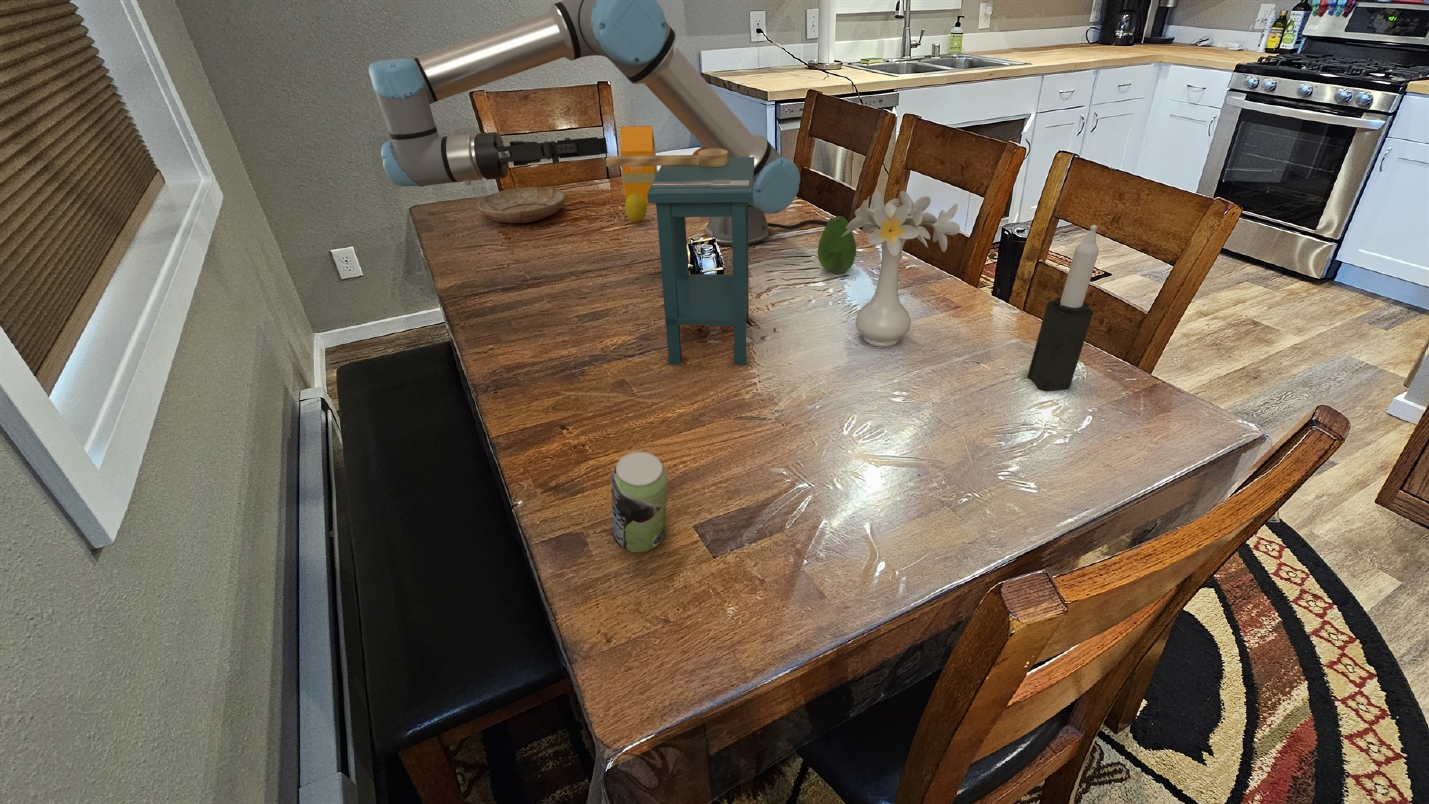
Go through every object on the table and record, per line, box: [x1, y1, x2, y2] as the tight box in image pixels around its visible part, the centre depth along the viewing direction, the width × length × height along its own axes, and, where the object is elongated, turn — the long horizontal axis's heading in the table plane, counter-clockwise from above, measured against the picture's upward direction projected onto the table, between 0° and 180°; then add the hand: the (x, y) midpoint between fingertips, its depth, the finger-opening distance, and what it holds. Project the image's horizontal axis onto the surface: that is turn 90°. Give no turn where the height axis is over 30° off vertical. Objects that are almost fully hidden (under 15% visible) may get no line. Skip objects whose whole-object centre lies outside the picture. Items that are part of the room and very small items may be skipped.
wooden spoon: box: [605, 148, 728, 167], centre depth 107 cm, size 20×5×2 cm, turn 86°
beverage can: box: [610, 451, 668, 553], centre depth 74 cm, size 6×7×12 cm
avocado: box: [817, 215, 857, 274], centre depth 138 cm, size 8×8×12 cm
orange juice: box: [619, 125, 658, 205], centre depth 183 cm, size 8×9×20 cm
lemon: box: [624, 193, 647, 225], centre depth 169 cm, size 6×6×8 cm
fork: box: [653, 180, 749, 189], centre depth 96 cm, size 14×2×1 cm, turn 86°
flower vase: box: [841, 190, 961, 348], centre depth 109 cm, size 13×18×25 cm
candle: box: [1027, 224, 1100, 392], centre depth 96 cm, size 5×5×25 cm
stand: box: [647, 157, 754, 366], centre depth 110 cm, size 15×20×29 cm
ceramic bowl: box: [477, 186, 567, 224], centre depth 178 cm, size 23×24×5 cm
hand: (603, 145), depth 114 cm, fingers open, 13 cm apart
